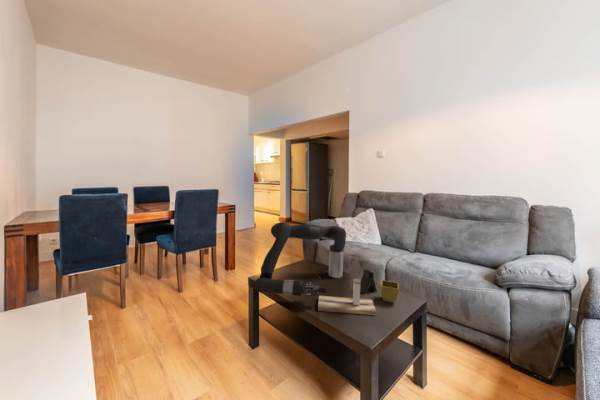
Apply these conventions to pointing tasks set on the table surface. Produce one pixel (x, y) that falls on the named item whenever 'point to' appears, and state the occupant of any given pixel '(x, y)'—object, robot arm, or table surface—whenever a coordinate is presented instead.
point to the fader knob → (356, 291)
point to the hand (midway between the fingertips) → (326, 290)
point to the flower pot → (389, 291)
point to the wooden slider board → (346, 305)
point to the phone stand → (367, 282)
